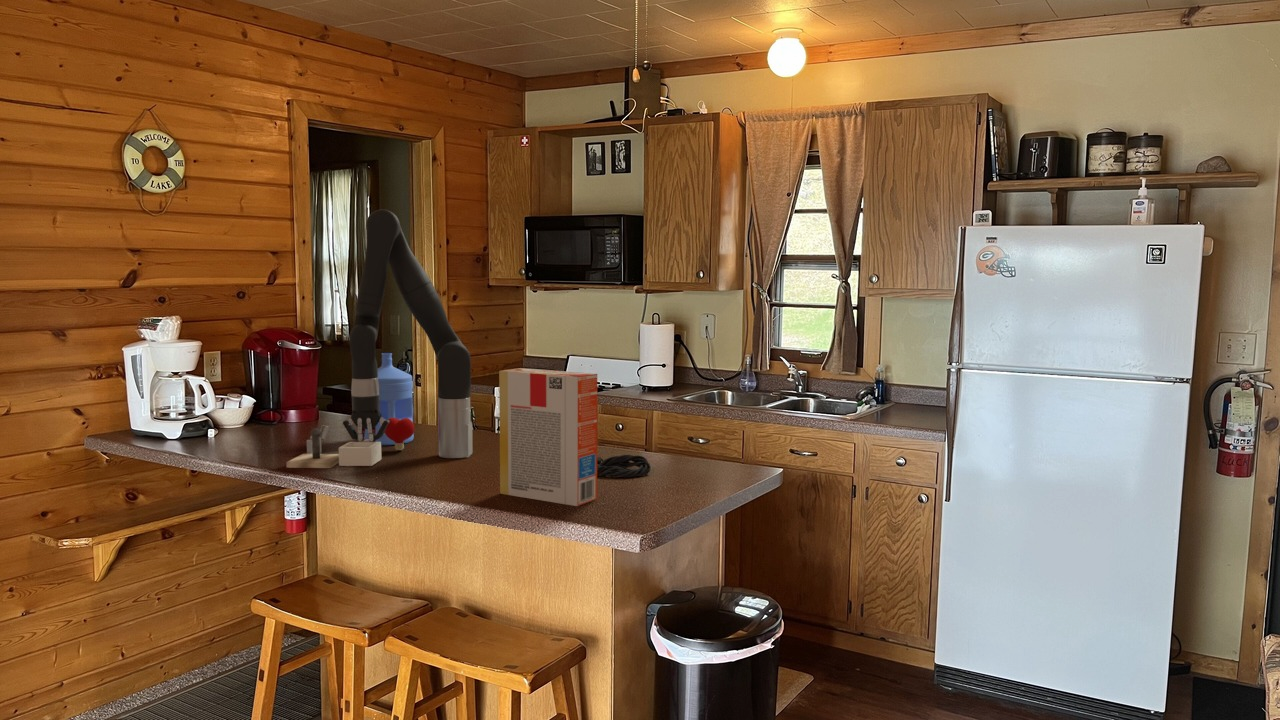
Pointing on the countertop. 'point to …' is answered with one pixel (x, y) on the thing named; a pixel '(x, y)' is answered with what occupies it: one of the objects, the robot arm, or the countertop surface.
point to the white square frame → (360, 453)
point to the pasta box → (548, 435)
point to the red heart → (399, 431)
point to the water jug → (393, 396)
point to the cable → (622, 466)
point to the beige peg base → (314, 456)
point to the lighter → (322, 437)
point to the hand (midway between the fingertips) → (367, 453)
